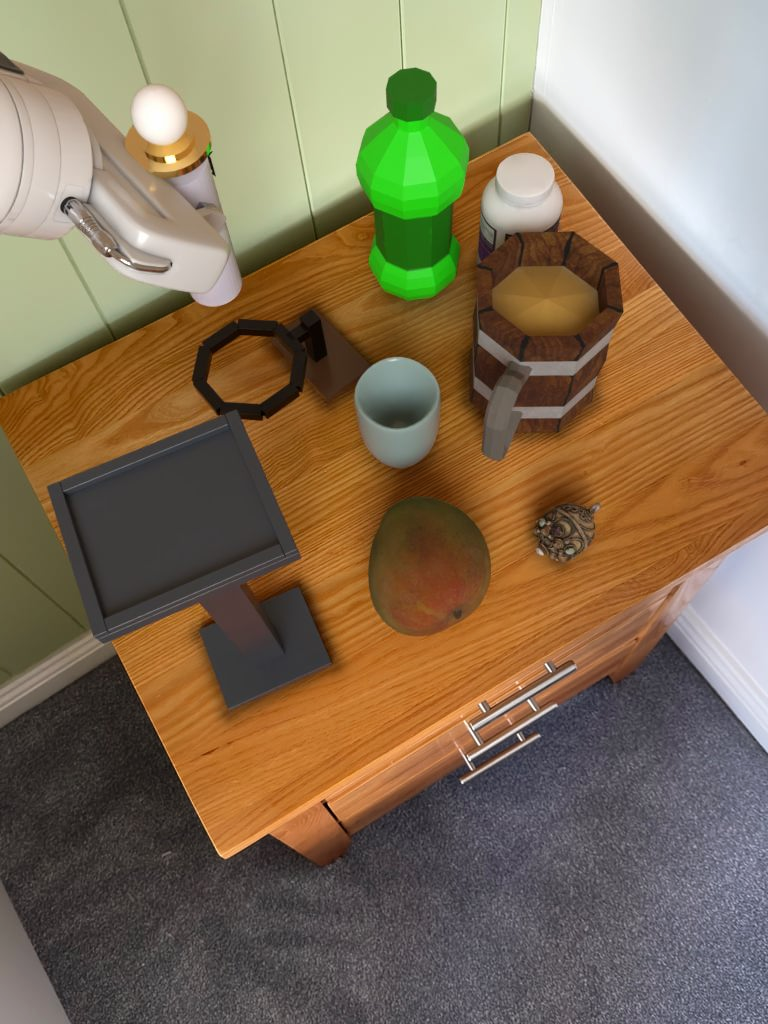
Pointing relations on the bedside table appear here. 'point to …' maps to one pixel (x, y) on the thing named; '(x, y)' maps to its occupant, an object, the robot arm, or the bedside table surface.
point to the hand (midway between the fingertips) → (194, 197)
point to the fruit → (427, 566)
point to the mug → (540, 333)
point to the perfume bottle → (180, 165)
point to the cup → (398, 411)
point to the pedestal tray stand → (191, 553)
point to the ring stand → (306, 349)
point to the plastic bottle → (413, 188)
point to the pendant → (565, 531)
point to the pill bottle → (518, 201)
